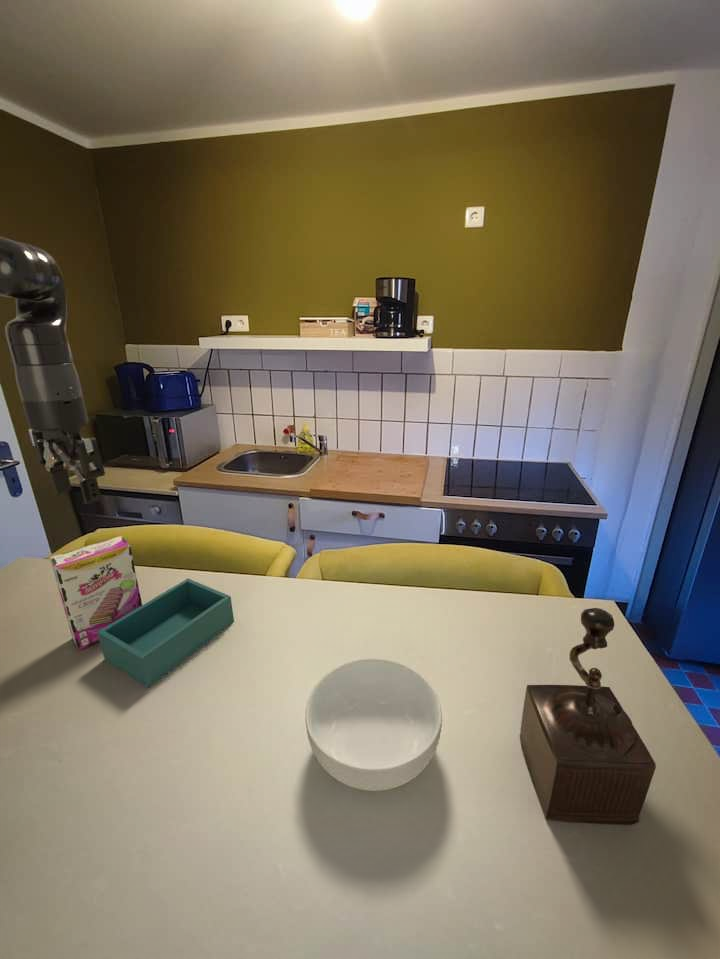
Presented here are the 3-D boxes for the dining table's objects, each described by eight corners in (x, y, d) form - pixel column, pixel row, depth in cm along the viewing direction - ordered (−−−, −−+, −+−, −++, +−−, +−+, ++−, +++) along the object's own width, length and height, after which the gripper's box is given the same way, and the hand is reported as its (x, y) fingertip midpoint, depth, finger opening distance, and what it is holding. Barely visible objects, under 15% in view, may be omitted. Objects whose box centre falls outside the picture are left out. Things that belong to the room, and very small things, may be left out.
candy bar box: (79, 652, 72) (54, 568, 66) (71, 638, 75) (47, 556, 70) (148, 621, 79) (130, 543, 74) (138, 609, 83) (121, 534, 77)
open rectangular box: (104, 659, 71) (96, 631, 69) (192, 602, 85) (187, 578, 83) (148, 687, 65) (141, 658, 63) (234, 621, 79) (230, 596, 77)
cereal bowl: (417, 686, 65) (419, 649, 62) (459, 799, 49) (464, 756, 47) (304, 703, 62) (301, 664, 60) (312, 828, 47) (309, 784, 44)
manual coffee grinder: (647, 826, 47) (690, 702, 40) (544, 822, 47) (571, 698, 41) (584, 706, 61) (609, 601, 55) (506, 703, 62) (521, 599, 55)
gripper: (-1, 394, 63) (29, 496, 69) (49, 403, 56) (78, 515, 62) (54, 388, 69) (78, 482, 75) (105, 395, 62) (127, 497, 68)
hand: (78, 496), depth 68 cm, fingers open, 8 cm apart
